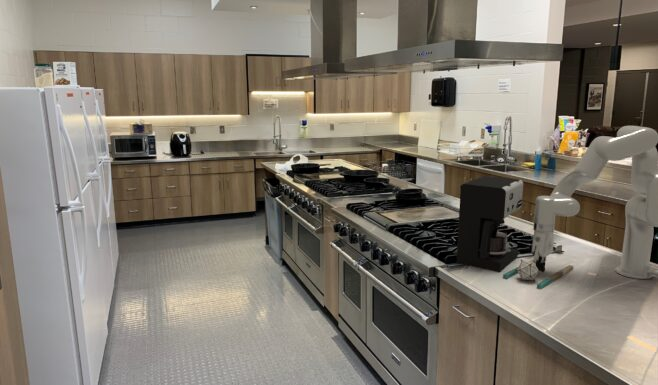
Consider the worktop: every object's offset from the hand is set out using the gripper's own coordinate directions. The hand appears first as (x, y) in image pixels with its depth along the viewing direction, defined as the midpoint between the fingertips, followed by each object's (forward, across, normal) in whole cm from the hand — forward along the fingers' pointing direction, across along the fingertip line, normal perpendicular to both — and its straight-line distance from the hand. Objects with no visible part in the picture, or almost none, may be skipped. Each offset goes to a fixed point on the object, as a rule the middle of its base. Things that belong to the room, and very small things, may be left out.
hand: (539, 270), depth 194 cm
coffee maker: (+1, -2, +22) cm, 22 cm away
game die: (+1, -11, 0) cm, 11 cm away
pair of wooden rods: (+1, -1, 0) cm, 1 cm away
